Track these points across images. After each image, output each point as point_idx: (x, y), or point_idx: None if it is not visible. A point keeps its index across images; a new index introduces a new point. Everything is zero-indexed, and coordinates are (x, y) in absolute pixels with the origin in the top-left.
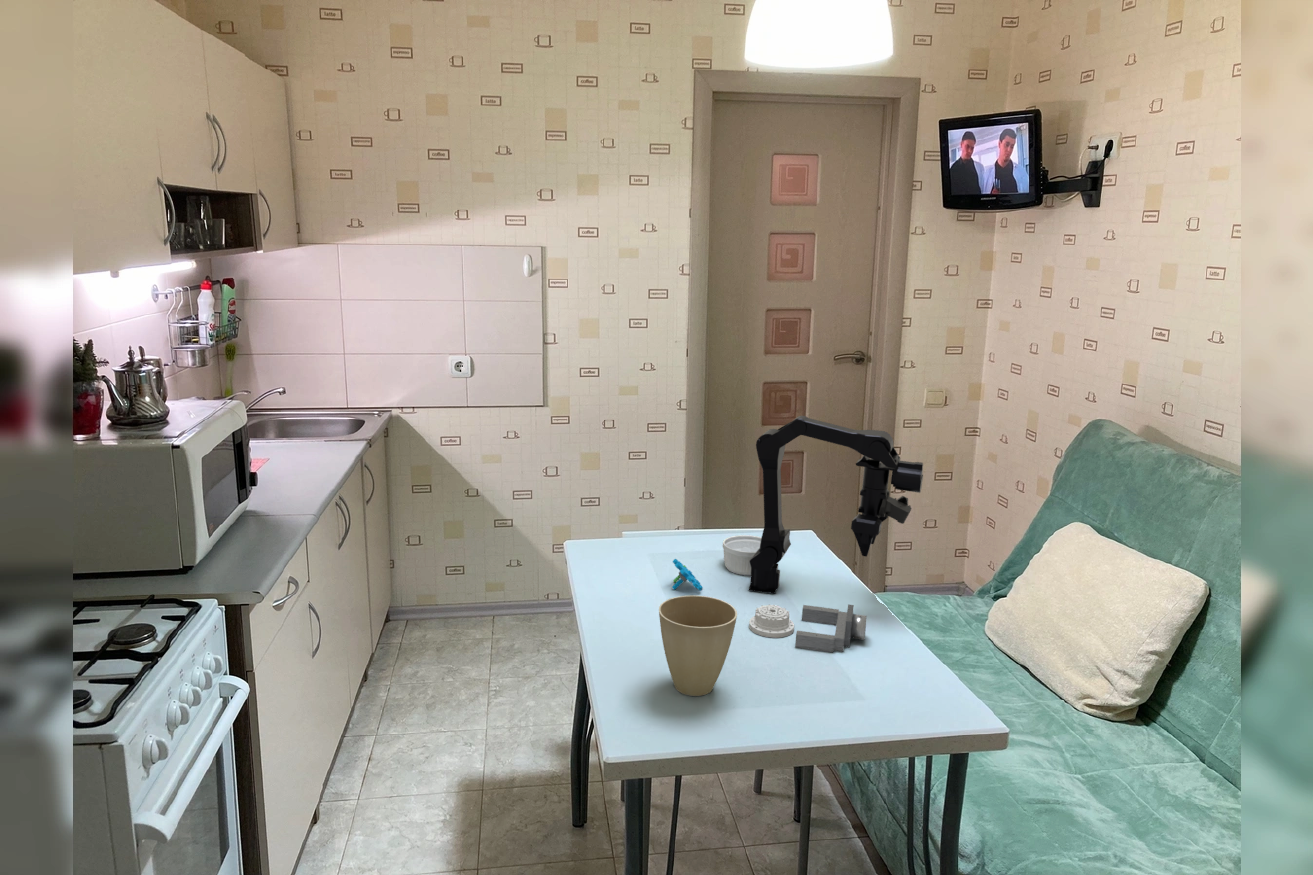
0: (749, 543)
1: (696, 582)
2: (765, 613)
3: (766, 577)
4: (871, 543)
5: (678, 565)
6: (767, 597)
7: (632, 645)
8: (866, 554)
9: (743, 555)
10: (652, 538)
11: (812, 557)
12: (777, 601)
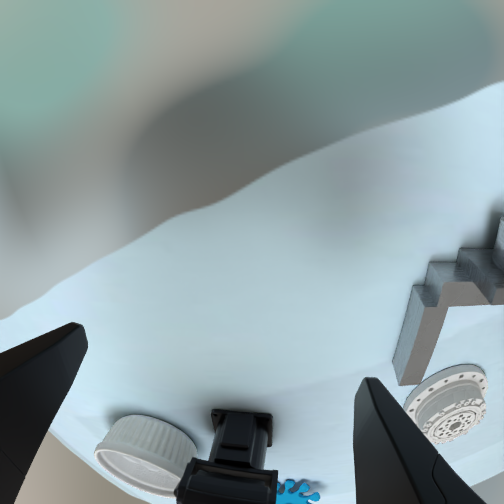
0: (109, 455)
1: (298, 495)
2: (464, 429)
3: (263, 454)
4: (84, 336)
5: None
6: (292, 421)
7: (469, 475)
8: (384, 392)
9: None
10: (134, 490)
11: (34, 334)
12: (309, 407)
